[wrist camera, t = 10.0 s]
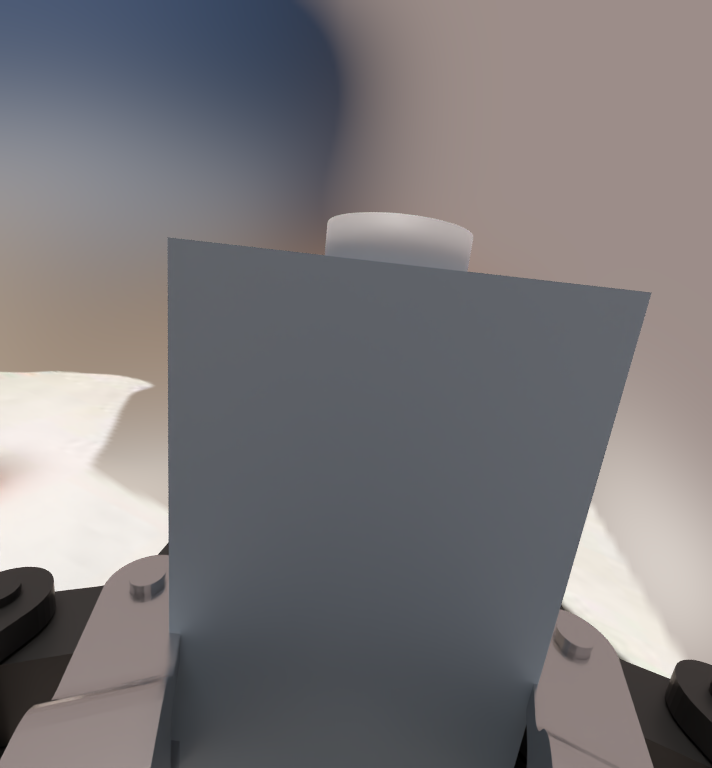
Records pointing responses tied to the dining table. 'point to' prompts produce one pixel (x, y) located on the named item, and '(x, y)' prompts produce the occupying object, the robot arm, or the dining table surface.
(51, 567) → the dining table surface
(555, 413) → the tea tin
